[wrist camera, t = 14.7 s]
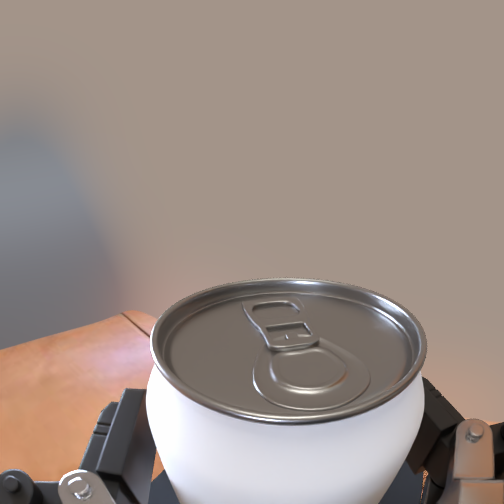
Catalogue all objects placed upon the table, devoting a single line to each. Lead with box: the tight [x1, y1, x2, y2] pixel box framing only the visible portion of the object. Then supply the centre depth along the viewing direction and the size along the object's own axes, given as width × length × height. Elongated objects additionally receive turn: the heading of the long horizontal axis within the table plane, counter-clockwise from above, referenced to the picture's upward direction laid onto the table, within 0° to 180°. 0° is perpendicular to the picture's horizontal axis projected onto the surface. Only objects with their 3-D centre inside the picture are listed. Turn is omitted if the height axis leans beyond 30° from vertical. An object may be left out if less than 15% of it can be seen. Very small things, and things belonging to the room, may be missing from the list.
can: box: [146, 278, 427, 504], centre depth 7 cm, size 6×6×12 cm
